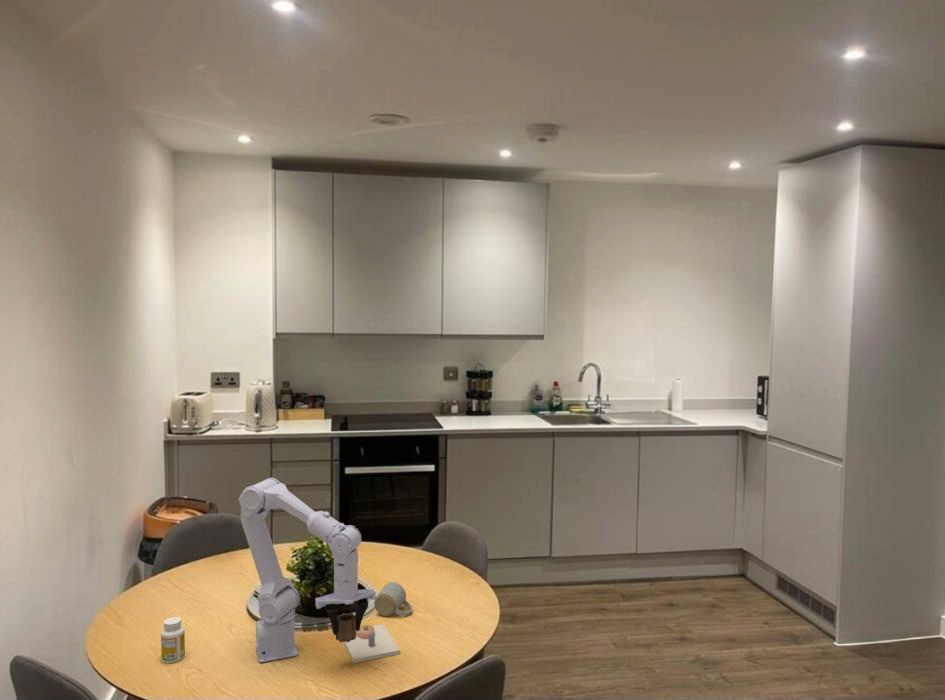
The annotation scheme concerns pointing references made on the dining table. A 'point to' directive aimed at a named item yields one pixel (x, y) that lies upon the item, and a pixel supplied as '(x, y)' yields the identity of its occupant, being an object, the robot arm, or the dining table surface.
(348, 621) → the walnut pinion gear
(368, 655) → the gear board
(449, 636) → the dining table surface
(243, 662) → the dining table surface
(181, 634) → the supplement bottle
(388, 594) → the ceramic mug
